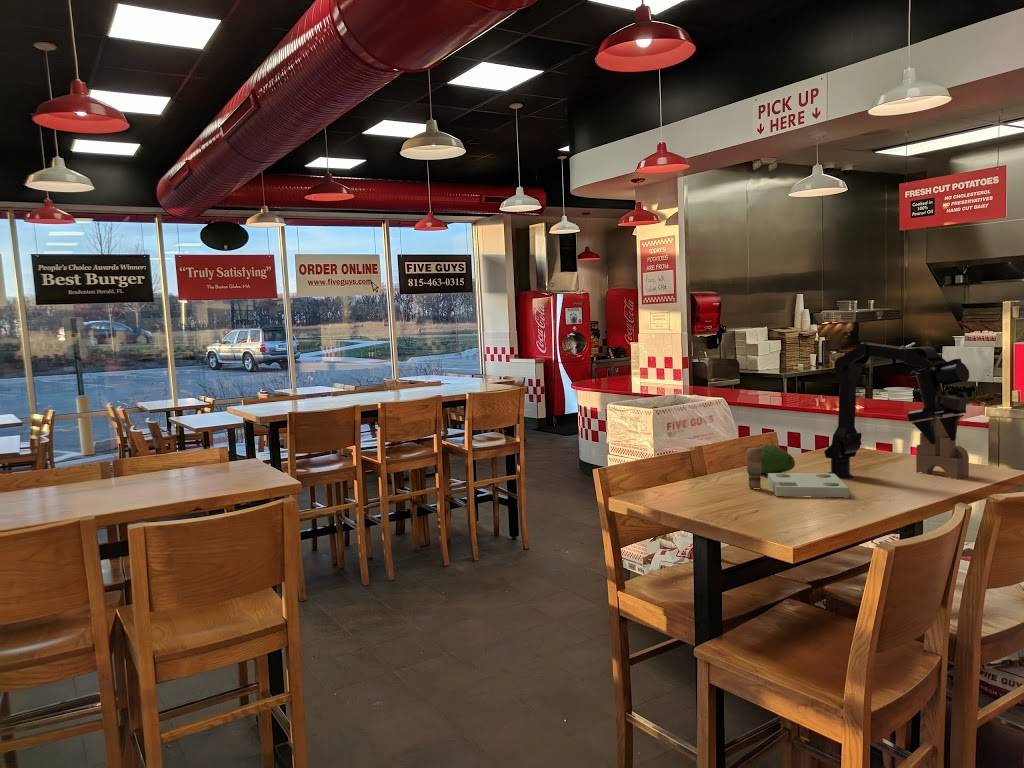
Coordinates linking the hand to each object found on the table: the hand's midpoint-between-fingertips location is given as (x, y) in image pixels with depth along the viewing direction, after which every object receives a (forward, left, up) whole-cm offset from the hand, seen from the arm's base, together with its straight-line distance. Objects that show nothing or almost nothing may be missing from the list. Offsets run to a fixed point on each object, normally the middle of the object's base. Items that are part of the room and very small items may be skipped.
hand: (943, 442), depth 207 cm
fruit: (-28, -43, -16) cm, 54 cm away
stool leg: (-6, -51, -15) cm, 54 cm away
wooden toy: (-30, +9, -16) cm, 35 cm away
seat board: (-5, -36, -15) cm, 40 cm away
